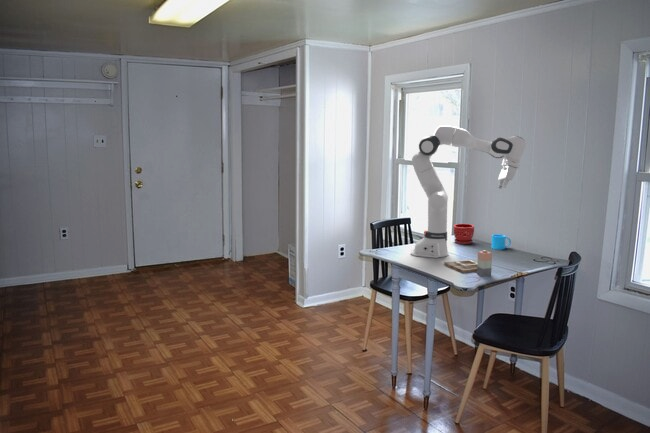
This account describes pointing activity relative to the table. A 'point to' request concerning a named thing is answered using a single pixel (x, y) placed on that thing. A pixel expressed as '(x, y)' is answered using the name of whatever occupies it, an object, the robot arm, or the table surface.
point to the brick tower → (484, 263)
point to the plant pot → (463, 233)
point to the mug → (499, 241)
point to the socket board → (463, 265)
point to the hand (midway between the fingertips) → (501, 188)
